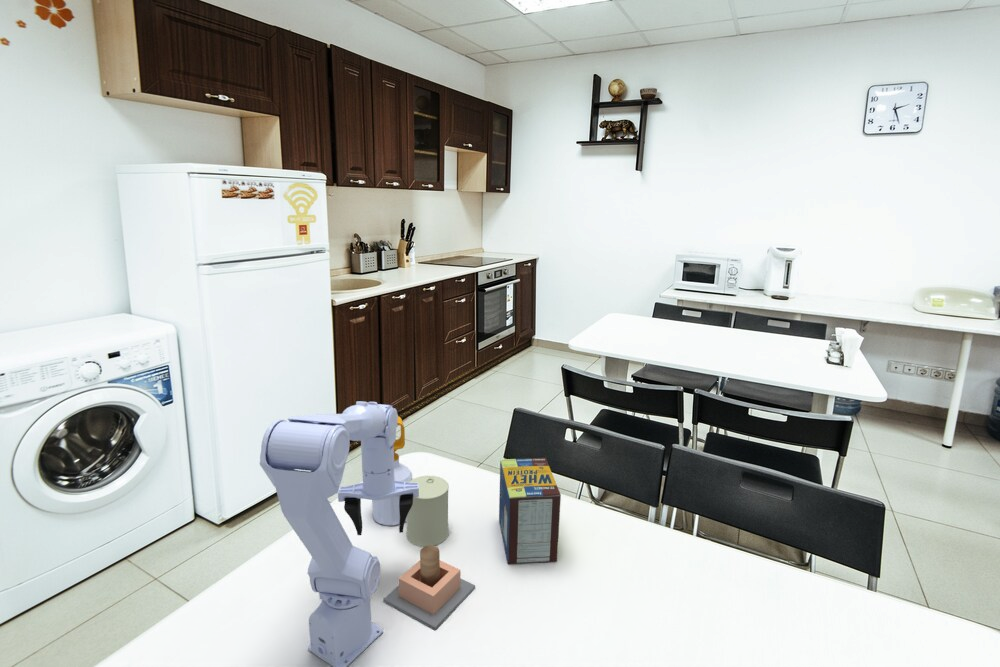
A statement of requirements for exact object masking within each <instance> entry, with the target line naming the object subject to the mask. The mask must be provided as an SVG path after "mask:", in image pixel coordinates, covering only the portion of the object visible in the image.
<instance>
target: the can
mask: <svg viewBox="0 0 1000 667" xmlns="http://www.w3.org/2000/svg"><path fill="white" fill-rule="evenodd" d="M409 483H419V497H413V504H412V507H411V509H410V511H409V513H408V515H407V521H406V538H407V540H408V542H410V543H411V544H413V546H418V547H421V548H423V547H425V546H428V545H433V546H438V545H440V544H443V542H445V541H446V540H447V539H448V537H449V534H450V530H449V487H450V486H449V483H448V482H447V480H446V479H444V478H443V477H440V476H437V475H422V476H418V477H415V478H412V480H411V481H409Z"/></svg>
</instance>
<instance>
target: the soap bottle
mask: <svg viewBox="0 0 1000 667" xmlns="http://www.w3.org/2000/svg"><path fill="white" fill-rule="evenodd" d="M397 426H400V436H399V438H398V439H396V440H395V442H394V443H393V444H394V478H395V481H402V482H409V481H411V480H412V479H413V473H412V471H411V469H410V468H409V467H408V466H406V465H405V464H403V463H401V462H400V459H399V458H400V456H399V454H398V453H396V451H398V450H401V449H403V448H404V447H405V444H406V436H405V435H406V434H405V425H404V422H403V420H402V418H401V417H400V416H399V415H398V422H397ZM399 499H400V496H397V497H391V498H387V499H383V500H371V504H372V505H371V506H372V517H373V519H374V521H375V522H376V523H378V524H380V525H383V526H396V525H399V524H400V511H399ZM405 523H407V517H406V520H405Z"/></svg>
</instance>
